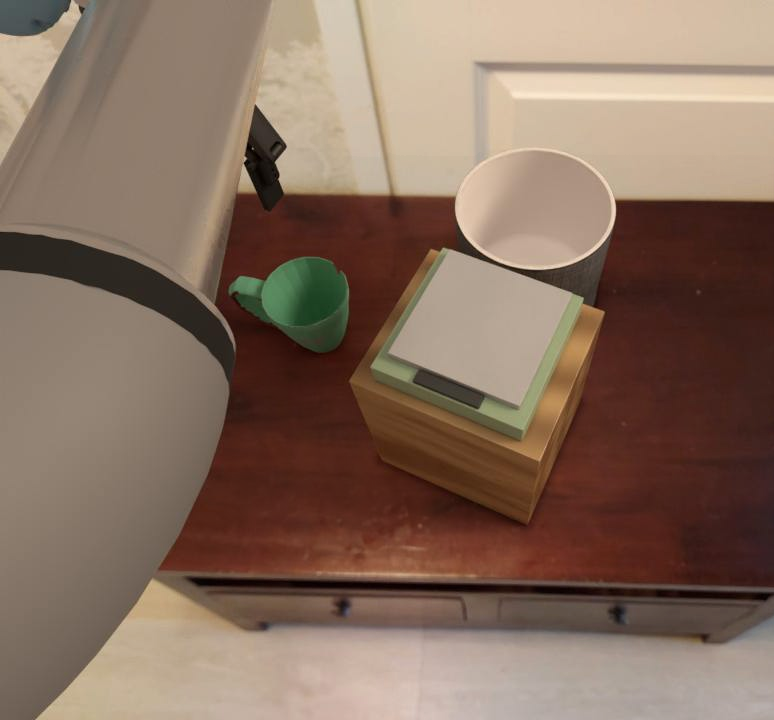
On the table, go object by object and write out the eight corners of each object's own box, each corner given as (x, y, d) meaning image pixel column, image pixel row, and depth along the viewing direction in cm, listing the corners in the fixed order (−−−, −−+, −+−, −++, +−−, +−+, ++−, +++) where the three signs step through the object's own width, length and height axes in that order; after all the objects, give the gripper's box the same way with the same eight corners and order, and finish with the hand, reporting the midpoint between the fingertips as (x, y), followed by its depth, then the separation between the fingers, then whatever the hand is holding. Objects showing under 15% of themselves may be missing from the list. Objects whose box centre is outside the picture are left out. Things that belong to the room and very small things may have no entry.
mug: (372, 310, 84) (358, 263, 76) (350, 376, 80) (332, 334, 71) (264, 293, 86) (239, 244, 77) (237, 357, 81) (206, 313, 73)
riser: (527, 525, 71) (539, 461, 53) (381, 460, 75) (348, 381, 57) (579, 403, 78) (605, 311, 60) (443, 349, 82) (430, 248, 64)
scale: (521, 441, 54) (523, 426, 51) (374, 380, 57) (368, 362, 54) (580, 312, 60) (585, 292, 57) (444, 262, 63) (442, 241, 60)
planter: (587, 232, 90) (605, 144, 76) (604, 343, 82) (627, 266, 68) (458, 236, 90) (453, 149, 76) (461, 348, 82) (456, 273, 68)
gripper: (281, -2, 51) (338, 193, 69) (36, -68, 56) (150, 128, 75) (225, 56, 47) (301, 244, 66) (-29, -21, 53) (107, 173, 71)
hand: (221, 183), depth 70 cm, fingers open, 13 cm apart
